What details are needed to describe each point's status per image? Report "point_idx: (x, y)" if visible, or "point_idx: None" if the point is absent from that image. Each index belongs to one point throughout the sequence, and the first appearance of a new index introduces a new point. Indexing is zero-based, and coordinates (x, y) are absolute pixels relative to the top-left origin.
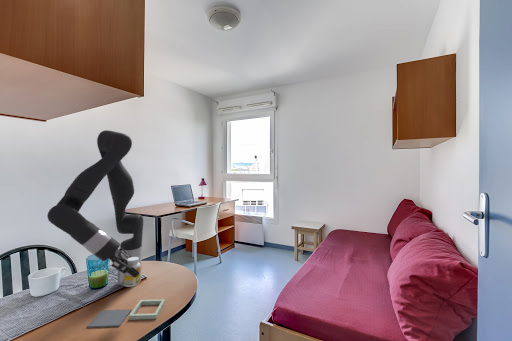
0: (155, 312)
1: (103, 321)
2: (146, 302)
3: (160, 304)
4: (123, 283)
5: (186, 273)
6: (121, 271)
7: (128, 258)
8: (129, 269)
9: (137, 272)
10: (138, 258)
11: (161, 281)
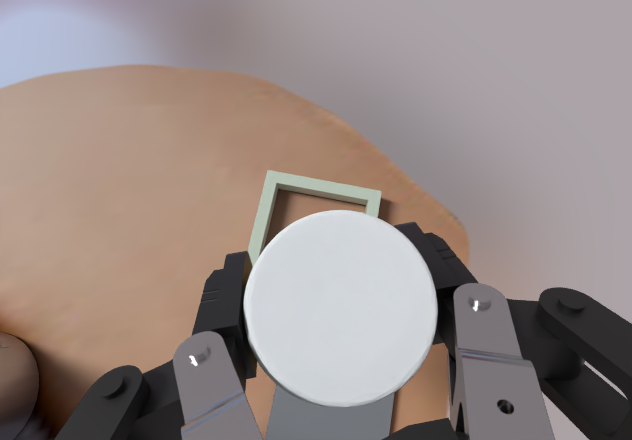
0: (362, 197)
1: (358, 424)
2: (261, 252)
3: (305, 184)
4: (9, 430)
5: (17, 97)
6: (612, 398)
7: (315, 394)
8: (512, 307)
9: (421, 235)
10: (345, 213)
11: (54, 214)
